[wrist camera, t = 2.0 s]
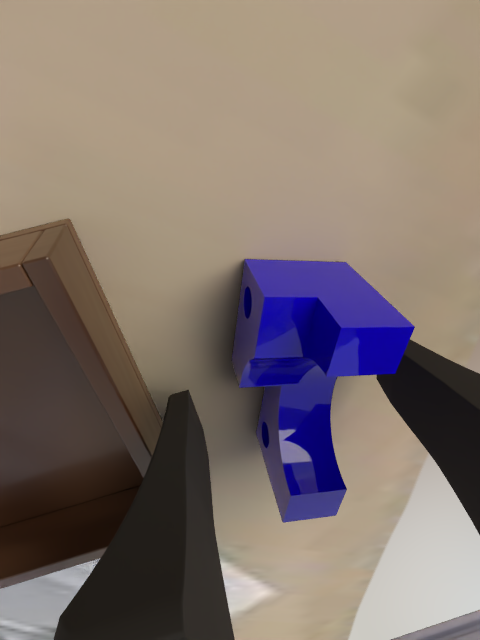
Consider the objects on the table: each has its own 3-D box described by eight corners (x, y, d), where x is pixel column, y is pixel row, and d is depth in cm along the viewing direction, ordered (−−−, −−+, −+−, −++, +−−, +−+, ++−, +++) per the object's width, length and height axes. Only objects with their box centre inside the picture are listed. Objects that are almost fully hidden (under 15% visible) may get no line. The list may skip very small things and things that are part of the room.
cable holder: (244, 259, 12) (281, 328, 9) (346, 262, 13) (414, 326, 9) (221, 435, 16) (240, 528, 13) (299, 429, 17) (335, 515, 14)
